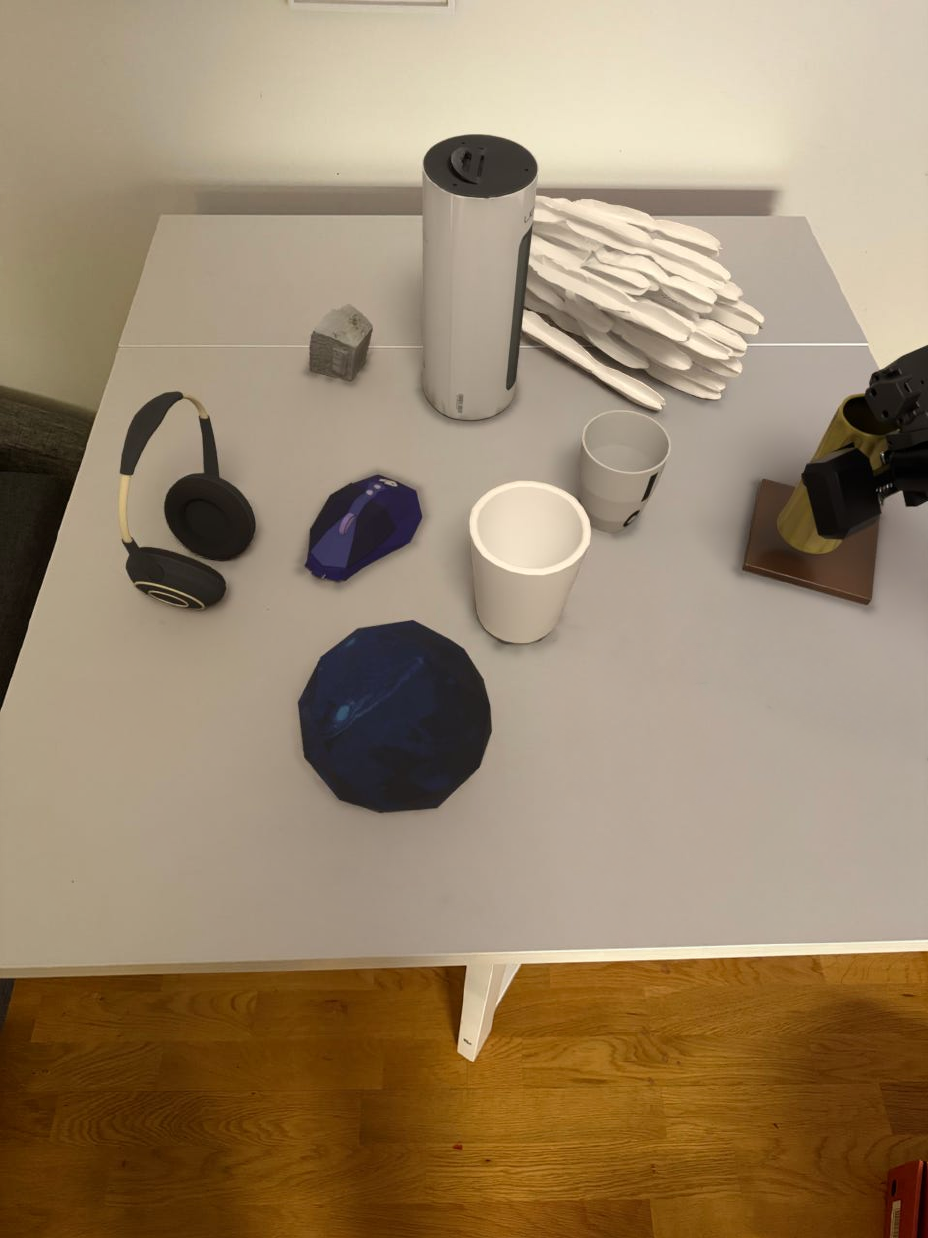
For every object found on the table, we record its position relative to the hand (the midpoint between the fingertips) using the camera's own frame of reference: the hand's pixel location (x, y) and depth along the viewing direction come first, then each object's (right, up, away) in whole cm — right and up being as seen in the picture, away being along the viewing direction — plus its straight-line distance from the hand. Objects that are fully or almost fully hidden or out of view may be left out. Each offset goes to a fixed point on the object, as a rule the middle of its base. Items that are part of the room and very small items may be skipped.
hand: (827, 467), depth 76 cm
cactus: (-16, +20, +26) cm, 37 cm away
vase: (0, -5, +5) cm, 7 cm away
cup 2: (-18, -3, +11) cm, 21 cm away
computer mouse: (-42, -5, +9) cm, 43 cm away
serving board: (+3, -6, +10) cm, 12 cm away
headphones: (-56, -9, +5) cm, 57 cm away
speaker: (-32, +12, +21) cm, 40 cm away
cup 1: (-27, -13, +4) cm, 30 cm away
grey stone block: (-45, +15, +22) cm, 52 cm away
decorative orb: (-37, -25, -4) cm, 45 cm away
